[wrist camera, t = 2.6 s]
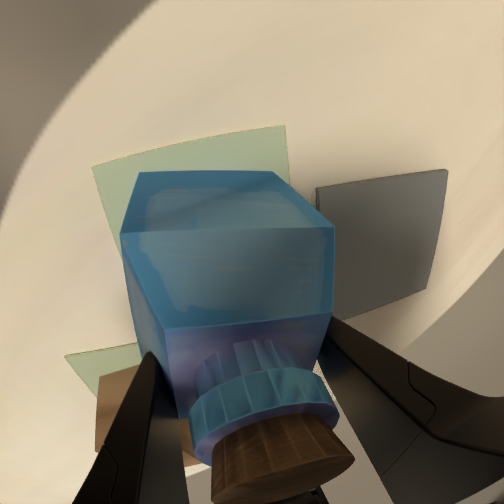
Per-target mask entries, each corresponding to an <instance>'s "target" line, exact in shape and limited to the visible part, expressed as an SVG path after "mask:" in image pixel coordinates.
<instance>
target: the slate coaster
mask: <svg viewBox="0 0 504 504" xmlns="http://www.w3.org/2000/svg"><path fill="white" fill-rule="evenodd" d="M447 179H448V170H446V169H439V170H431V171H424V172H416V173H409V174H402V175H395V176H388V177H381V178H375V179H368V180H362V181H356V182H350V183H344V184H338V185H332V186H326V187H321V188H316V203H317V210H318V211H319V212H320V213H321V214H322V215H323V216H324V217H325V218H326V219H327V220H329V221H330V222H331V223H332V224H333V225H334V226H335V266H334V295H333V312H332V316H334V317H336V318H337V319H339V320H341V321H342V320H345V319H348V318H351V317H354V316H357V315H359V314H362V313H365V312H368V311H370V310H373V309H376V308H378V307H381V306H384V305H386V304H389V303H392V302H394V301H397V300H399V299H402V298H404V297H407V296H409V295H412V294H414V293H417V292H419V291H421V290H424V289H426V286H427V282H428V279H429V275H430V271H431V267H432V263H433V259H434V254H435V250H436V245H437V240H438V235H439V230H440V225H441V219H442V214H443V208H444V201H445V194H446V187H447Z"/></svg>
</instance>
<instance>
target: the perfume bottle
mask: <svg viewBox="0 0 504 504" xmlns="http://www.w3.org/2000/svg"><path fill="white" fill-rule="evenodd" d="M119 235H120V244H121V251H122V259H123V266H124V272H125V279H126V285H127V291H128V296H129V302H130V307H131V312H132V317H133V322H134V327H135V332H136V336H137V341H138V345H139V349H140V354H141V358H142V359H143V357H144V355H145V353H146V352H148V351H151V352H152V353H153V354H154V355H155V356H156V358H157V359H158V361H159V364H160V367H161V369H162V372H163V375H164V377H165V380H166V383H167V385H168V388H169V390H170V393H171V395H172V398H173V400H174V403H175V405H176V408H177V411H178V417H179V419H187V418H189V419H188V422H189V428H190V434H191V439H192V445H193V450H194V454H195V456H196V457H197V459H198V460H199V461H200V462H202V463H204V464H206V465H208V466H211V467H212V477H211V481H212V482H211V501H212V502H213V503H214V504H265V503H270V502H275V501H279V500H282V499H286V498H289V497H293V496H296V495H298V494H301V493H304V492H306V491H309V490H311V489H314V488H316V487H318V486H320V485H322V484H324V483H326V482H328V481H330V480H332V479H333V478H335V477H337V476H338V475H340V474H341V473H343V472H344V471H345V470H347V469H348V468H349V467H350V466H351V465H352V464H353V462H354V461H355V458H354V456H353V455H352V453H351V452H350V451H349V450H348V449H347V448H346V446H345V445H344V444H343V443H342V442H341V440H340V439H339V438H338V437H337V436H336V434H334V432H333V431H332V430H333V428H334V427H335V426H336V424H337V422H338V419H339V417H340V415H339V412H338V410H337V407H336V406H335V404H334V402H333V400H332V398H331V396H330V394H329V392H328V390H327V388H326V386H325V384H324V382H323V380H322V379H321V377H320V376H318V375H317V374H315V373H313V372H312V371H313V368H314V365H315V362H316V360H317V357H318V354H319V351H320V348H321V345H322V343H323V340H324V337H325V334H326V331H327V328H328V325H329V322H330V318H331V315H332V312H333V295H334V266H335V226H334V225H333V224H332V223H331V222H330V221H329V220H327V219H326V218H325V217H324V216H323V215H322V214H321V213H320V212H319V211H318V210H316V209H315V208H314V207H313V206H312V205H311V204H310V203H309V202H308V201H306V200H305V199H304V198H303V197H302V196H301V195H300V194H298V193H297V192H296V191H295V190H294V189H293V188H292V187H290V186H289V185H288V184H287V183H286V182H285V181H283V180H282V179H281V178H280V177H279V176H278V175H276V174H275V173H274V172H273V171H245V170H190V171H155V172H139V174H138V177H137V180H136V183H135V185H134V188H133V191H132V194H131V197H130V200H129V203H128V207H127V210H126V213H125V216H124V220H123V223H122V226H121V230H120V233H119Z"/></svg>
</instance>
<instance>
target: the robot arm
mask: <svg viewBox="0 0 504 504" xmlns="http://www.w3.org/2000/svg"><path fill="white" fill-rule="evenodd" d="M317 360H318V363H319V365H320V368H321V370H322V373H323V375H324V377H325V379H326V381H327V383H328V385H329V387H330V388H331V390H332V392H333V394H334V396H335V397H336V399H337V401H338V403H339V404H340V406H341V408H342V410H343V412H344V414H345V415H346V417H347V419H348V421H349V423H350V424H351V426H352V428H353V430H354V432H355V434H356V435H357V437H358V439H359V441H360V443H361V444H362V446H363V448H364V450H365V452H366V453H367V455H368V457H369V459H370V461H371V463H372V464H373V466H374V468H375V470H376V472H377V473H378V475H379V477H380V479H381V481H382V483H383V485H384V487H385V488H386V490H387V492H388V494H389V496H390V497H391V499H392V501H393V503H394V504H504V397H487V396H482V395H479V394H476V393H474V392H472V391H469V390H467V389H464V388H462V387H460V386H458V385H455V384H453V383H451V382H448V381H446V380H444V379H442V378H439V377H437V376H435V375H433V374H431V373H429V372H428V371H426V370H424V369H422V368H420V367H418V366H417V365H415V364H413V363H412V362H408V361H407V360H406V359H404V358H403V357H401V356H399V355H398V354H396V353H394V352H393V351H391V350H389V349H388V348H386V347H384V346H383V345H381V344H379V343H377V342H376V341H374V340H372V339H371V338H369V337H367V336H366V335H364V334H362V333H361V332H359V331H357V330H356V329H354V328H352V327H351V326H349V325H347V324H346V323H344V322H342V321H341V320H339V319H337V318H336V317H334V316H332V315H331V318H330V322H329V325H328V328H327V331H326V334H325V337H324V340H323V343H322V345H321V348H320V351H319V354H318V357H317ZM103 443H104V444H103V445H102V446H101V449H100V451H99V453H98V455H97V457H96V460H95V462H94V464H93V466H92V468H91V470H90V472H89V474H88V476H87V478H86V479H85V481H84V483H83V485H82V487H81V488H80V490H79V492H78V494H77V495H76V497H75V499H74V501H73V502H72V504H189V498H188V491H187V484H186V477H185V470H184V462H183V454H182V445H181V436H180V426H179V417H178V411H177V408H176V405H175V403H174V400H173V398H172V395H171V393H170V390H169V388H168V385H167V383H166V380H165V377H164V375H163V372H162V369H161V367H160V364H159V361H158V359H157V358H156V356H155V355H154V354H153V353H152V352H151V351H148V352H146V353H145V355H144V357H143V359H142V361H141V363H140V365H139V367H138V369H137V371H136V373H135V375H134V377H133V379H132V381H131V383H130V386H129V388H128V390H127V392H126V394H125V396H124V398H123V400H122V402H121V405H120V407H119V409H118V411H117V413H116V415H115V418H114V420H113V422H112V424H111V426H110V429H109V431H108V433H107V435H106V437H105V440H104V442H103ZM265 504H329V503H328V501H327V499H326V497H325V495H324V493H323V491H322V489H321V487H320V486H318V487H316V488H314V489H311V490H310V491H306V492H304V493H301V494H298V495H296V496H293V497H289V498H286V499H282V500H279V501H275V502H270V503H265Z"/></svg>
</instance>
